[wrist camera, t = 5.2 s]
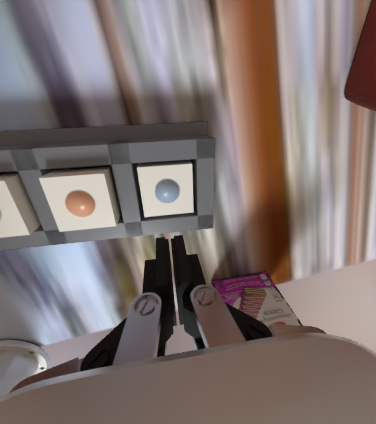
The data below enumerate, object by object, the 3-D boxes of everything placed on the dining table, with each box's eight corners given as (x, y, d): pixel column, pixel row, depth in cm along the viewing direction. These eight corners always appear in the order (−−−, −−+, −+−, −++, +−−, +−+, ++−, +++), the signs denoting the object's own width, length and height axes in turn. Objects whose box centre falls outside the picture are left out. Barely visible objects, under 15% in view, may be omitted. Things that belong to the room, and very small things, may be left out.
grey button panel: (205, 219, 30) (212, 237, 26) (3, 240, 27) (-27, 264, 23) (204, 121, 24) (215, 122, 20) (-56, 133, 21) (-112, 138, 17)
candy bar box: (266, 269, 37) (335, 368, 23) (264, 288, 39) (325, 389, 25) (209, 279, 36) (242, 388, 22) (210, 297, 39) (241, 408, 24)
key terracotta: (121, 214, 24) (116, 226, 22) (70, 218, 24) (59, 232, 21) (110, 166, 22) (103, 173, 19) (53, 170, 21) (37, 178, 18)
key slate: (190, 202, 27) (193, 212, 24) (146, 206, 26) (144, 217, 23) (188, 158, 24) (192, 163, 21) (139, 161, 23) (136, 167, 21)
